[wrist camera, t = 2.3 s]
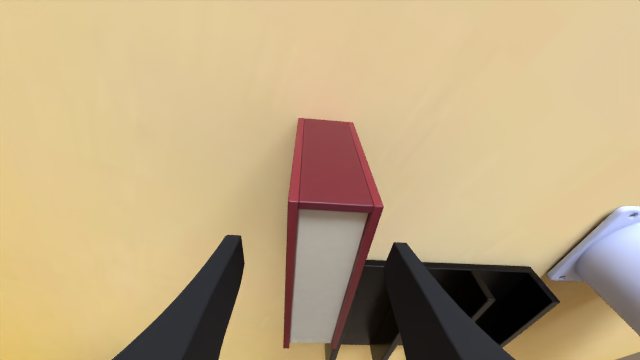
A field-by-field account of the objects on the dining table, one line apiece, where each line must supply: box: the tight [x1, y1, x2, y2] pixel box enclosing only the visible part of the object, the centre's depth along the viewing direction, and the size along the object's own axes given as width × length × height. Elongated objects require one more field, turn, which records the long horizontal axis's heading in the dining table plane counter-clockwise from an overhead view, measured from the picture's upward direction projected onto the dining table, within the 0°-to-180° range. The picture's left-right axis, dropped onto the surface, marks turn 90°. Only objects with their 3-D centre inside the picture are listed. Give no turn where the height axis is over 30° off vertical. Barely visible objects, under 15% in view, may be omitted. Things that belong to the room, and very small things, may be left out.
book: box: [283, 118, 384, 349], centre depth 12 cm, size 3×10×6 cm, turn 174°
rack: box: [325, 260, 560, 360], centre depth 22 cm, size 16×14×3 cm
